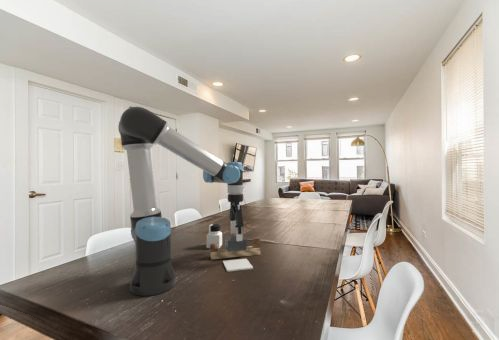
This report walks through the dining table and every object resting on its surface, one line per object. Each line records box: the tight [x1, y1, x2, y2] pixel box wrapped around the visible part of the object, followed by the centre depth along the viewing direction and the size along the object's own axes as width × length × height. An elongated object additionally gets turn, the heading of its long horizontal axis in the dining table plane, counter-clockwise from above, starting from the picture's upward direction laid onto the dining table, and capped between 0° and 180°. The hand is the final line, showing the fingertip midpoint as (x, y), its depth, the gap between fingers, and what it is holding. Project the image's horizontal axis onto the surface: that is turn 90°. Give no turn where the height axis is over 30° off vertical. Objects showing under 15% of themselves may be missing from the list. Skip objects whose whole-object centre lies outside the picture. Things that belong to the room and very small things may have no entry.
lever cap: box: [224, 234, 248, 252], centre depth 118 cm, size 9×8×6 cm
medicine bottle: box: [206, 223, 223, 249], centre depth 132 cm, size 7×7×12 cm
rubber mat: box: [222, 258, 254, 273], centre depth 105 cm, size 11×11×1 cm
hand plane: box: [209, 237, 261, 260], centre depth 118 cm, size 24×5×8 cm, turn 106°
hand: (236, 237), depth 118 cm, fingers open, 13 cm apart
